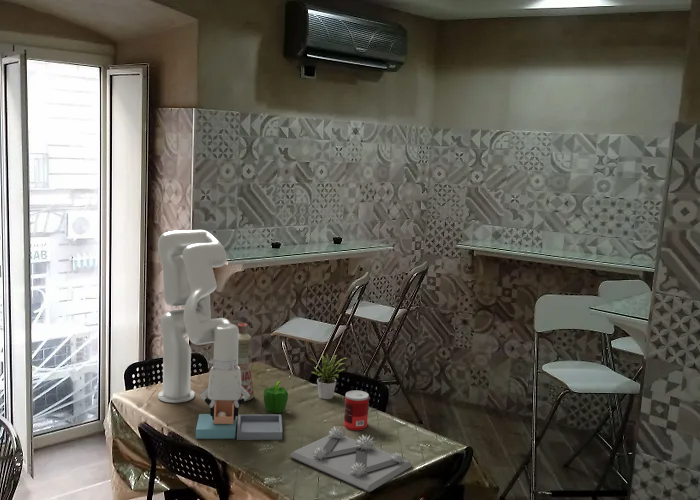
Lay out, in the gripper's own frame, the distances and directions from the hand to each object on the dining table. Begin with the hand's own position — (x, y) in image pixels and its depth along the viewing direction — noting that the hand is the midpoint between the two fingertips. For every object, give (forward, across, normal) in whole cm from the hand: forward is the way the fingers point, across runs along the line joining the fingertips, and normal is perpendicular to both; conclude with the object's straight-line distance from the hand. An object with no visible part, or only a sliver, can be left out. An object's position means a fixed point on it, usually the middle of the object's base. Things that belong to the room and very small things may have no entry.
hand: (224, 417), depth 213 cm
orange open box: (+1, 0, 0) cm, 1 cm away
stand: (+4, -2, 0) cm, 5 cm away
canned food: (+4, +43, +3) cm, 43 cm away
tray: (+4, +11, 0) cm, 12 cm away
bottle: (+5, +5, +28) cm, 29 cm away
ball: (0, -1, 0) cm, 1 cm away
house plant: (+4, +36, +29) cm, 47 cm away
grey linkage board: (+5, +38, -23) cm, 44 cm away
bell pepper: (+5, +17, +16) cm, 24 cm away
